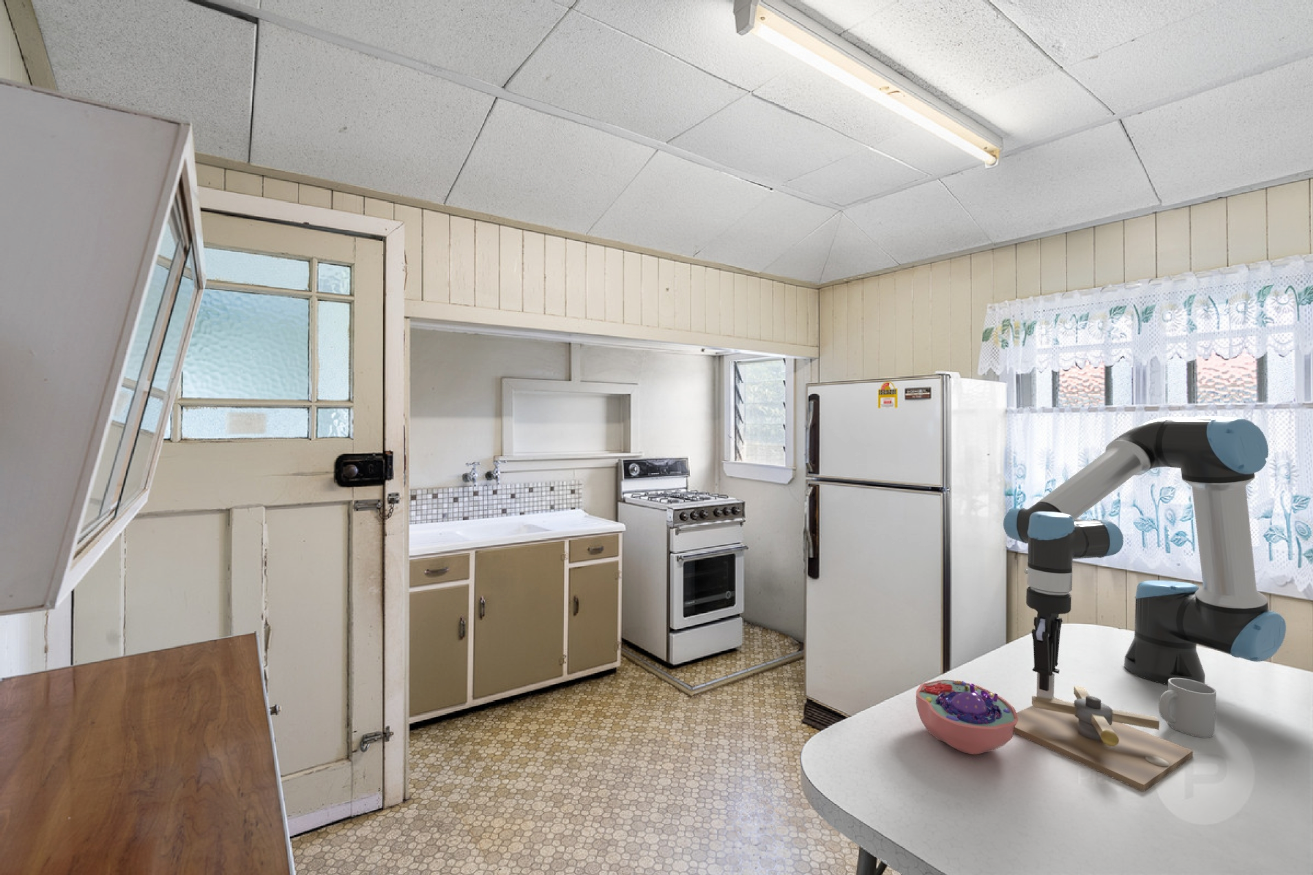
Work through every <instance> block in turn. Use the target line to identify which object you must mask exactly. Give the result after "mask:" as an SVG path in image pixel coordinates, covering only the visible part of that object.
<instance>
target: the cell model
mask: <svg viewBox="0 0 1313 875" xmlns="http://www.w3.org/2000/svg"><path fill="white" fill-rule="evenodd" d="M915 694H916V695H915V705H916V709H917V712H918V713H917V714H918V716H919V719H920V721H921V723H922V725H923V726H924V727H925V729H926V730H927V731H928V733H929V734H930V735H931V736H933V737H934V738H935V739H937V740H938V741H941V742H943V743H945V744H947V745H948V746H950V747H951V748H953V749H954V750H957V751H959V752H961V753H965V754H969V755H980V754H983V753H987V752H988V753H989V752H993V751H996V750H998V749H1000V748H1002V747H1004V746H1005V745H1006V744H1008V743H1009V742H1011V740H1012V739H1013V738H1014V733H1013V732H1014V727H1015V725H1016V724H1017V722H1018V717H1017V714H1016V713H1017V711H1016V709H1015V707H1013V705H1012V704H1011V703H1009V702H1008V701H1007V700H1006V699H1004V698H1003V697H1001V696H1000V695H998V693H995V692H994V693H993V692H992V691H990V690H988V689H986V688H983V687H982V686H979V685H978V684H977V685H976V684H974V683H969V682H965V681H964V680H954V679H953V680H951V679H938V680H934V681H933V680H932V681H929V682H924V683H921V684H920V685H919V687H918V688H917V689H916V693H915Z"/></svg>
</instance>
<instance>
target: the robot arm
mask: <svg viewBox="0 0 1313 875" xmlns="http://www.w3.org/2000/svg"><path fill="white" fill-rule="evenodd" d="M1268 457H1269V445H1268V441H1267V437H1266V436H1265V434H1264V432H1263V431H1262V429H1261V428H1260V427H1259V426H1258V425H1256V424H1255V423H1254V422H1252V421H1250V420H1248V419H1245V418H1241V417H1228V416H1201V417H1200V416H1195V417H1193V416H1190V417H1188V416H1187V417H1177V416H1175V417H1174V416H1173V417H1172V416H1171V417H1169V416H1167V417H1161V418H1157V419H1153V420H1150V421H1147V422H1145V423H1142V424H1139V425H1137V426H1135V427H1133V428H1131V429H1130V430H1127V431H1126V432H1123V433H1121V434H1120V435H1119V436H1117V437H1116V438H1115V439H1113V440H1112V441H1110V442H1109V443H1108V444H1107V445H1106V447H1105V450H1104V453H1102V454H1100V456H1098V457H1097V458H1095V459H1094V460H1092V461H1091V462H1090V463H1089V464H1087V465H1086V466H1084V467H1083V468H1082V469H1080V470H1079V471H1077V473H1075V474H1074V475H1072V476H1071V477H1070V478H1068V479H1067V480H1066V481H1064V482H1063V483H1062V484H1060V485H1059V486H1058V487H1055V489H1054V490H1051V492H1049V493H1048V494H1047V495H1045V496H1044V497H1043V498H1041V499H1040V500H1038V501H1037V502H1036V503H1035V504H1033V505H1032V506H1031V507H1029V508H1025V507H1024V508H1023V507H1019V508H1018V507H1017V508H1012V509H1010V510H1008V511H1007V512H1006V514H1005V515H1004V518H1003V530H1004V532H1005V534H1006V535H1007V536H1008V537H1009V538H1010V539H1012V540H1015V541H1018V542H1021V543H1024V544H1027V568H1026V569H1024V570H1023V571H1024V574H1026V575H1027V577H1026V585H1027V586H1028V587H1027V588H1026V590H1025V591H1026V593H1025V595H1026V596H1025V603H1026V605H1027V606H1028V607H1029V608H1030V609H1032V610H1035V611H1036V612H1037V614H1036V616H1034V618H1033V626H1034V628H1032V630H1031V635H1032V646H1033V647H1032V648H1033V666H1034V667H1033V668H1032V669H1031V670H1032V672H1035V673H1037V674H1036V677H1037V678H1036V697H1042V698H1048V699H1054V697H1055V695H1054V694H1055V674H1060V671H1061V670H1060V669H1059V668H1056V667H1057V666H1058V665H1059V663H1058V662H1059V661H1058V660H1059V650H1060V649H1059V648H1060V638H1061V631H1062V630H1061V629H1062V624H1063V618H1062V617H1060V616H1059V615H1066V614H1069V613H1070V612H1071V610H1072V594H1071V593H1070V592H1072V591H1073V560H1078V559H1079V560H1080V559H1096V558H1099V559H1101V558H1102V559H1103V558H1105V557H1111V556H1115V555H1116V554H1118V553H1119V552H1120V551H1121V550H1122V548H1123V546H1124V535H1123V532H1122V531H1121V529H1120V528H1119V526H1118V525H1117V524H1115V523H1114V522H1112V521H1110V520H1106V519H1096V518H1093V519H1091V520H1089V519H1083V518H1080V516H1082V515H1084V514H1085V513H1086V512H1088V511H1089V510H1091V509H1092V508H1093V507H1094V506H1096V505H1097V504H1098V503H1099V502H1101V501H1102V500H1103V499H1105V498H1106V497H1107V496H1108V495H1109V494H1112V493H1113V492H1114V491H1115V490H1116V489H1118V488H1119V487H1120V486H1122V485H1123V484H1124V483H1127V481H1128V480H1129V479H1131V478H1133V477H1134V476H1141V475H1144V474H1146V473H1147V472H1148V471H1150V470H1152V469H1156V468H1174V469H1180V473H1181V480H1182V481H1183V482H1185V483H1186V484H1188V485H1189V486H1190V487H1191V490H1192V499H1193V508H1194V517H1195V518H1194V519H1195V524H1196V526H1195V527H1196V534H1197V543H1198V552H1199V561H1200V562H1199V563H1200V569H1201V570H1200V572H1201V578H1202V587H1199V585H1198V584H1194V583H1190V582H1183V581H1175V580H1145V581H1141V582H1139V583H1138V584H1137V586H1136V593H1135V596H1134V599H1135V606H1134V607H1135V609H1134V612H1135V614H1134V635H1133V636H1134V637H1133V639H1132V641H1131V643H1130V646H1129V647H1128V649H1127V651H1126V654H1125V655H1124V660H1123V661H1124V664H1123V665H1124V668H1125V669H1126V670H1127V671H1129V673H1132V674H1134V675H1136V676H1138V677H1141V678H1144V679H1146V680H1149V681H1151V682H1155V683H1157V684H1158V683H1159V684H1163V685H1167V686H1168V680H1169V679H1171V678H1183V679H1189V680H1193V681H1197V682H1200V683H1203V684H1206V680H1205V679H1206V673H1205V670H1204V668H1203V665H1202V662H1201V660H1200V657H1199V654H1198V651H1197V645H1199V646H1202V647H1206V648H1208V649H1211V650H1215V651H1218V652H1221V653H1223V654H1227V655H1229V656H1232V657H1233V658H1236V659H1237V658H1238V659H1239V658H1240V659H1244V660H1247V661H1250V662H1255V663H1257V662H1258V663H1259V662H1264V661H1267V660H1269V659H1271V658H1272V657H1273V656H1274V655H1276V653H1277V652H1278V651H1279V649H1280V648H1281V646H1282V645H1283V643H1284V641H1285V637H1286V632H1287V625H1286V620H1285V618H1284V617H1283V615H1282V614H1280V613H1278V612H1276V611H1273V610H1270V609H1269V603H1268V598H1267V596H1266V595H1264V594H1263V593H1262V592H1260V591H1258V589H1257V580H1256V573H1255V562H1254V552H1253V544H1252V534H1251V525H1250V524H1251V522H1250V515H1249V514H1250V513H1249V505H1248V504H1249V503H1248V497H1247V496H1248V494H1247V486H1248V484H1249V483H1251V482H1252V481H1254V480H1255V479H1256V474H1255V473H1259V472H1260V471H1261V470H1262V469H1264V467H1265V466H1266V464H1267V460H1266V459H1268Z"/></svg>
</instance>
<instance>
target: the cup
mask: <svg viewBox="0 0 1313 875" xmlns="http://www.w3.org/2000/svg"><path fill="white" fill-rule="evenodd" d="M1158 700H1159V701H1158V712H1159V715H1160V717H1161V718H1162V720H1164V721H1165V722H1166V723H1167V724H1168V725H1169V726H1170V728H1172V729H1174V730H1175V731H1177V732H1180V733H1182V734H1186V735H1188V736H1192V737H1195V738H1203V739H1205V738H1206V739H1207V738H1211V737H1213V736H1214V735H1215V728H1216V726H1215V724H1216V706H1217V705H1216V704H1217V691H1216V689H1215V688H1214V687H1211V686H1210V685H1208V684H1206V683H1205V684H1203V683H1200V682H1197V681H1193V680H1189V679H1183V678H1171V679H1169V680H1168V685H1167V690H1165V691H1164V692H1163V693H1162V694H1161V695H1160V697H1159V699H1158Z"/></svg>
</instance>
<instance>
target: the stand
mask: <svg viewBox="0 0 1313 875" xmlns="http://www.w3.org/2000/svg"><path fill="white" fill-rule="evenodd" d="M1054 700H1060V701H1063V699H1059V698H1057V697H1055V696H1054ZM1016 714H1017V717H1018V722H1017V724H1016V725H1015V727H1014V732H1013V734H1016V735H1018V736H1020V737H1023V738H1025V739H1026V740H1029V741H1031V742H1033V743H1035V744H1037V745H1039V746H1042V747H1045V748H1046V749H1049V750H1051V751H1053V752H1056V753H1057V754H1059V755H1062V756H1064V757H1066V758H1068V759H1071V760H1073V761H1075V762H1077V763H1079V764H1081V765H1084V766H1086V767H1087V768H1091V769H1092V770H1095V771H1097V772H1099V773H1101V774H1104V775H1106V776H1108V777H1110V778H1111V779H1114V780H1116V781H1118V782H1121V783H1123V784H1126V785H1127V786H1129V787H1130V786H1131V787H1132V788H1134V789H1136V790H1138V791H1141V792H1145V791H1147V790H1148V789H1149V788H1151V787H1152V786H1154V785H1155V784H1156V783H1158V782H1160V781H1161V780H1162V779H1164V778H1165V777H1166V776H1168V775H1170V774H1171V773H1172V772H1173V771H1175V770H1176V769H1178V768H1180V766H1182V765H1184V764H1185V763H1186V762H1187V761H1190V760H1191V759H1192V758H1193V756H1194V755H1193V754H1194V750H1192V749H1190V748H1187V747H1184V746H1182V745H1180V744H1177V743H1174V742H1172V741H1169V740H1168V739H1164V738H1162V737H1159V736H1156V735H1153V734H1151V733H1148V732H1146V731H1144V730H1140V729H1139V728H1136V727H1132V726H1131V725H1129V724H1124V723H1118V722H1112V725H1110V727H1111V728H1112V730H1113V731H1114V733H1115V734H1116V735H1117V736H1118V738H1119V743H1118V744H1117V745H1116V746H1108V745H1106V744H1105V743H1104V742H1103V741H1102V740H1101V737H1100V735H1099V733H1098V732H1097V730H1096V729H1095V727H1094V725H1093V724H1089V723H1087V722H1084V721H1082V720H1080V719H1078V718H1077V717H1076V716H1075V715H1073V714H1067V713H1062V712H1056V711H1050V710H1045V709H1039V708H1034V707H1033V705H1030V706H1028V707H1026V708H1024V709H1021V710H1020V711H1016Z"/></svg>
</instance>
